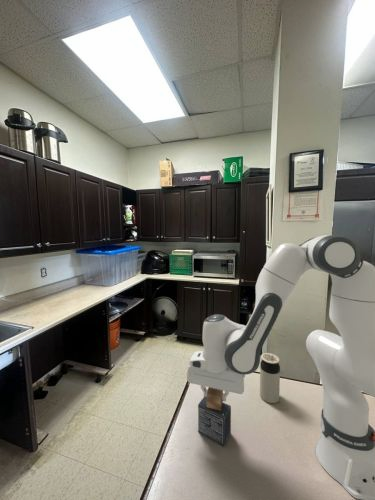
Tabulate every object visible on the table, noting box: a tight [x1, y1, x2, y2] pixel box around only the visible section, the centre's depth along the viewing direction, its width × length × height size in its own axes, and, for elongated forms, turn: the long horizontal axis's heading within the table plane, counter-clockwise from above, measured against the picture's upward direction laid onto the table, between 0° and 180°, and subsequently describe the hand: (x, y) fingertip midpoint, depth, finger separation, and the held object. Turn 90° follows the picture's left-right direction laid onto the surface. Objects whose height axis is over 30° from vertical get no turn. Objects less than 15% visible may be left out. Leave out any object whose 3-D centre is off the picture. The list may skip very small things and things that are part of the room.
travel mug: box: [259, 352, 281, 404], centre depth 92 cm, size 8×8×18 cm
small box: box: [197, 396, 232, 447], centre depth 75 cm, size 11×6×10 cm, turn 58°
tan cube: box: [207, 387, 224, 411], centre depth 75 cm, size 5×5×5 cm
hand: (214, 397), depth 75 cm, fingers closed on tan cube, 5 cm apart
